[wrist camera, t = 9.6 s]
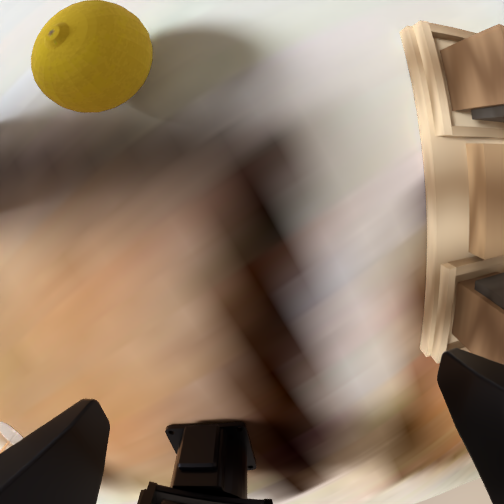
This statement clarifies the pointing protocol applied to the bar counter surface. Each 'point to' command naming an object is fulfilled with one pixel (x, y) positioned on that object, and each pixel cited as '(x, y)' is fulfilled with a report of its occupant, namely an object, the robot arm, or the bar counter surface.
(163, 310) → the bar counter surface
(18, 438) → the wineglass
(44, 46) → the lemon
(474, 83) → the beige cardboard cube
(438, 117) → the rail
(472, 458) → the robot arm
